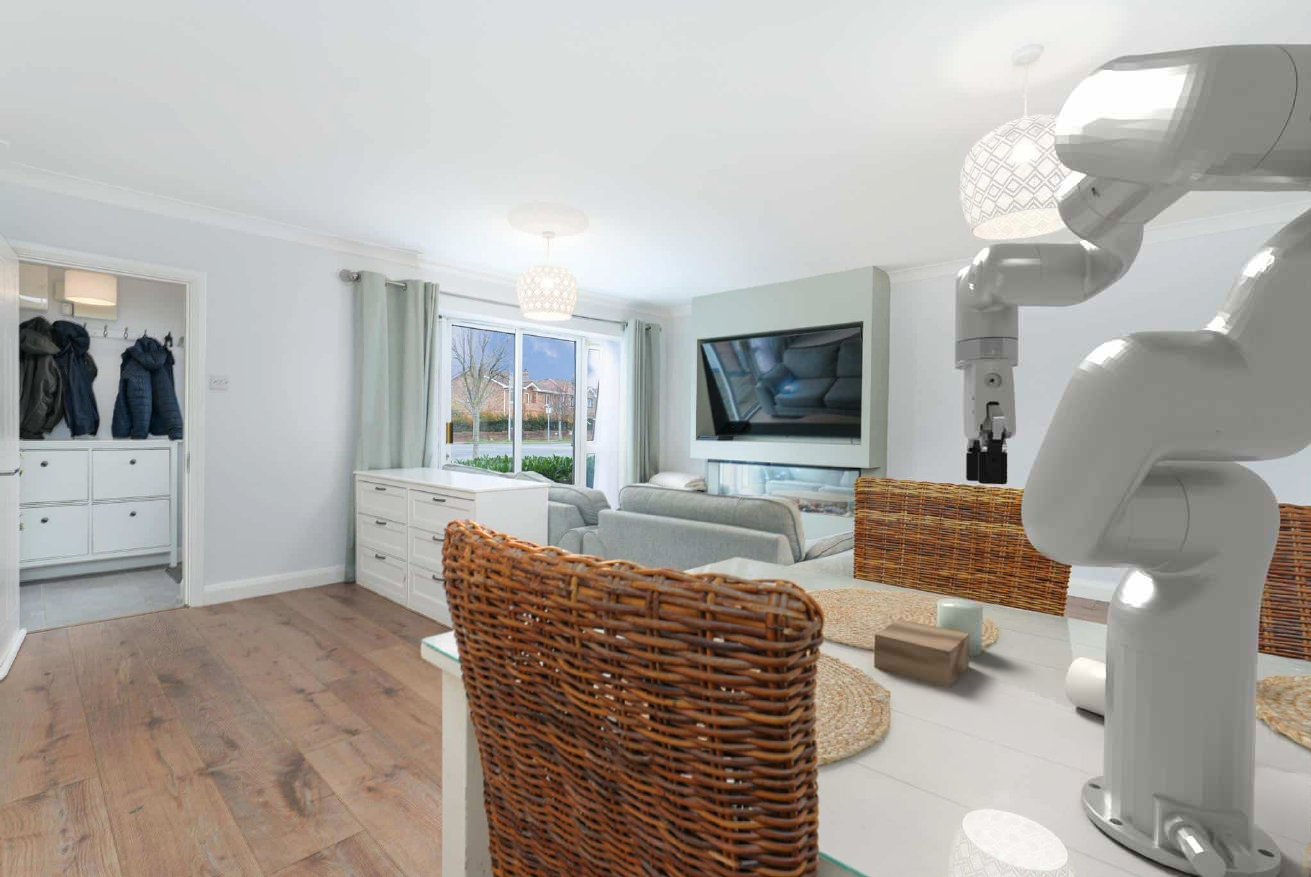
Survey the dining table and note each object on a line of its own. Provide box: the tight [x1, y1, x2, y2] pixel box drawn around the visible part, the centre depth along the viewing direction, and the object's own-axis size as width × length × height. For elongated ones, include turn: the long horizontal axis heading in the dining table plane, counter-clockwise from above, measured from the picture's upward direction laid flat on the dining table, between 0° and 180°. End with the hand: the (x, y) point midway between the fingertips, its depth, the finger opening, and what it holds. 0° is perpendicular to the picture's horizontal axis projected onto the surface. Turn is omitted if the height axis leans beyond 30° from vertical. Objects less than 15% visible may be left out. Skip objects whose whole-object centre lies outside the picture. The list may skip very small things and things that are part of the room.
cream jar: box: [1065, 656, 1106, 718], centre depth 71 cm, size 6×6×9 cm
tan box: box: [873, 618, 970, 688], centre depth 87 cm, size 10×10×5 cm
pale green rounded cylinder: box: [936, 598, 984, 657], centre depth 95 cm, size 6×6×7 cm
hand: (985, 482), depth 81 cm, fingers open, 9 cm apart
